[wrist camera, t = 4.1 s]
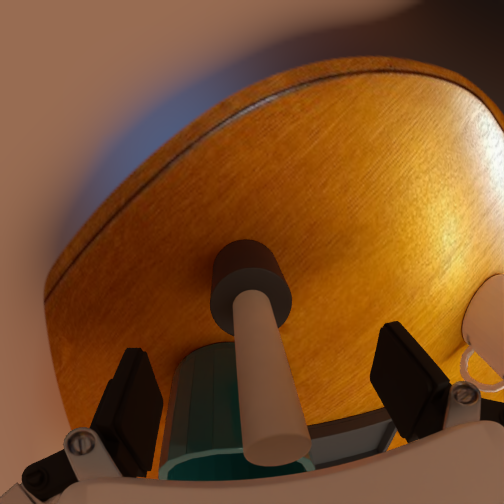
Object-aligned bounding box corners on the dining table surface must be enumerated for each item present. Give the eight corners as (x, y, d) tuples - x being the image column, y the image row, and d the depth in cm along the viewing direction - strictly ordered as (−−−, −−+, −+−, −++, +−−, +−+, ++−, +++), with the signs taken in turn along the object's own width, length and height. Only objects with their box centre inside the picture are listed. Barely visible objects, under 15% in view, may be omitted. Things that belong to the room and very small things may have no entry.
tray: (287, 468, 30) (289, 480, 28) (289, 428, 26) (293, 443, 25) (378, 446, 31) (383, 456, 29) (398, 403, 27) (405, 414, 25)
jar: (186, 422, 25) (180, 506, 15) (161, 345, 21) (136, 447, 12) (287, 414, 25) (308, 497, 16) (289, 335, 22) (324, 436, 13)
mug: (501, 256, 22) (561, 291, 14) (511, 303, 25) (556, 337, 16) (433, 336, 24) (485, 392, 15) (452, 370, 27) (491, 417, 18)
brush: (216, 301, 21) (213, 485, 7) (209, 242, 19) (186, 414, 6) (277, 295, 21) (338, 468, 8) (275, 237, 19) (364, 391, 6)
